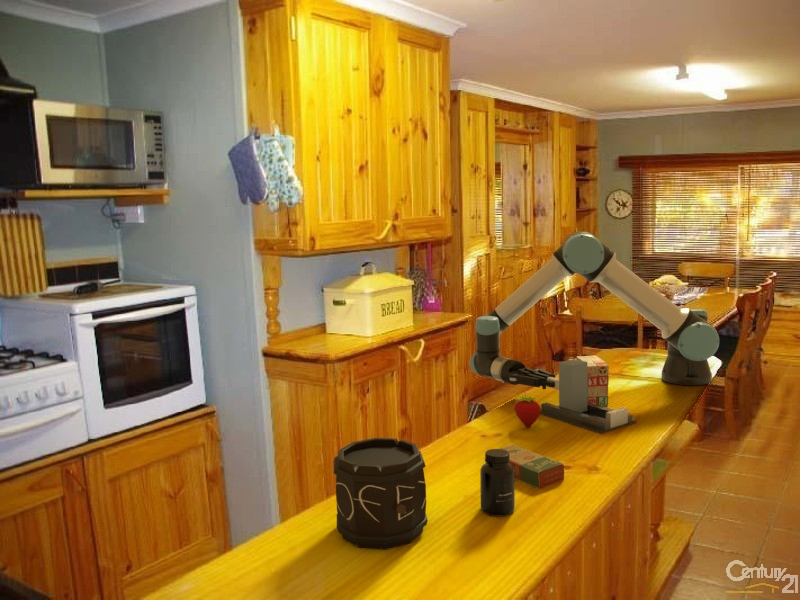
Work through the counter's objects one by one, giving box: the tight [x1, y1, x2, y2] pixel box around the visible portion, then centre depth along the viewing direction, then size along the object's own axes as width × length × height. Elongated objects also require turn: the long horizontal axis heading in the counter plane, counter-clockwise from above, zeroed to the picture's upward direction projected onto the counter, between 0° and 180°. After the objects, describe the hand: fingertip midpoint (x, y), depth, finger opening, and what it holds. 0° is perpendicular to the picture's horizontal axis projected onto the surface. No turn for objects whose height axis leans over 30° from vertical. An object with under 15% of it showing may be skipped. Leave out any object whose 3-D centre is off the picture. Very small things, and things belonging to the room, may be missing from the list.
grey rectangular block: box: [558, 358, 588, 413], centre depth 201 cm, size 6×5×14 cm
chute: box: [540, 402, 637, 434], centre depth 198 cm, size 14×23×5 cm, turn 34°
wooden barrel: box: [332, 437, 428, 551], centre depth 136 cm, size 18×18×16 cm
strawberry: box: [513, 391, 541, 429], centre depth 191 cm, size 6×8×10 cm
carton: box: [499, 444, 565, 490], centre depth 161 cm, size 8×16×4 cm, turn 36°
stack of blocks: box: [568, 354, 610, 406], centre depth 218 cm, size 21×6×12 cm, turn 1°
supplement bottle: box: [479, 448, 516, 517], centre depth 143 cm, size 7×7×12 cm
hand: (565, 386), depth 203 cm, fingers closed
